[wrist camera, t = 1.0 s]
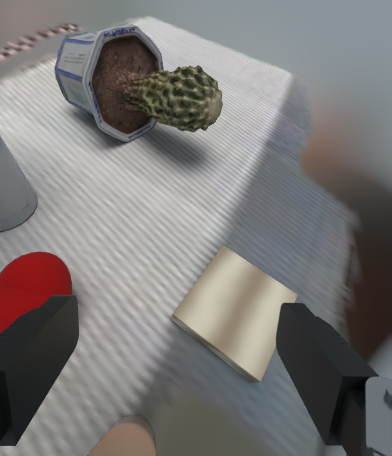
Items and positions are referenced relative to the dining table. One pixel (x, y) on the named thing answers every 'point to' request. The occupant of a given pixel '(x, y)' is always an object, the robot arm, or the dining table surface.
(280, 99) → the dining table surface
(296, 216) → the dining table surface
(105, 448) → the tall pink cylinder
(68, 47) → the potted plant
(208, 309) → the base slab
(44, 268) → the red heart
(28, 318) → the robot arm
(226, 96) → the dining table surface
